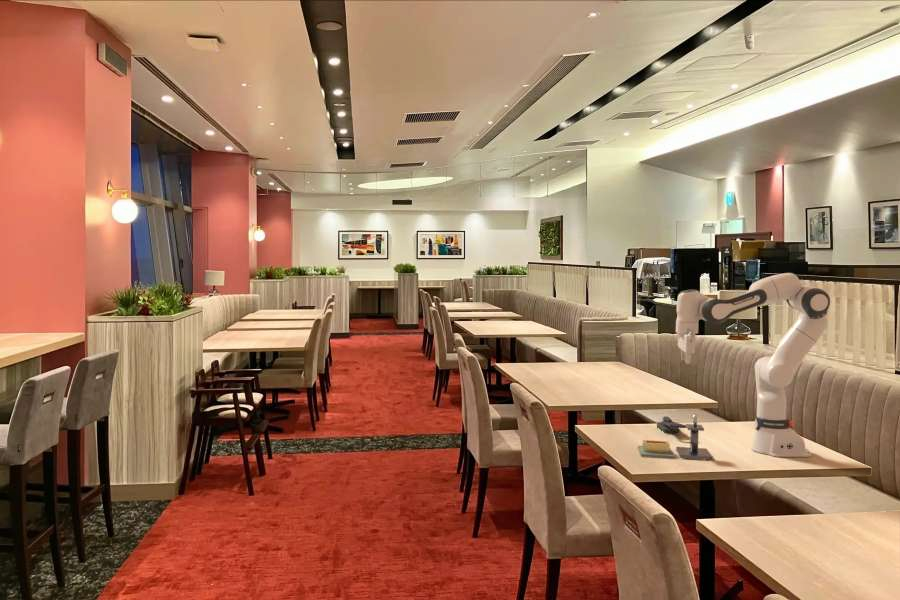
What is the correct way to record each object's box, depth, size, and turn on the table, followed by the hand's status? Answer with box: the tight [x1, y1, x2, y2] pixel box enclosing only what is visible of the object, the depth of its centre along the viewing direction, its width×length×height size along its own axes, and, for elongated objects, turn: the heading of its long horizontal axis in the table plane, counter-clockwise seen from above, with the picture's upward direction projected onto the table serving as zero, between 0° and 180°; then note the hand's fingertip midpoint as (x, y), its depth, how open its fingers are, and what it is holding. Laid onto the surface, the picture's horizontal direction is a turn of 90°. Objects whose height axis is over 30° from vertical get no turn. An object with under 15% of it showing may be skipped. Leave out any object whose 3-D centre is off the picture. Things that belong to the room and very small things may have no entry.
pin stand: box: [675, 414, 713, 461], centre depth 277 cm, size 12×12×16 cm
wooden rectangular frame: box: [642, 439, 671, 453], centre depth 280 cm, size 10×5×4 cm, turn 80°
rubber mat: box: [637, 445, 676, 459], centre depth 280 cm, size 13×13×1 cm
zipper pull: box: [656, 416, 687, 435], centre depth 314 cm, size 9×7×25 cm
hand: (685, 361), depth 284 cm, fingers open, 8 cm apart
